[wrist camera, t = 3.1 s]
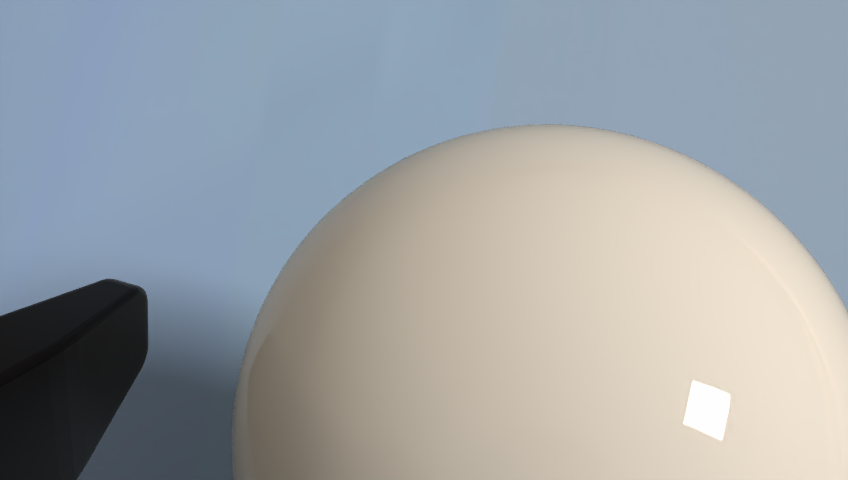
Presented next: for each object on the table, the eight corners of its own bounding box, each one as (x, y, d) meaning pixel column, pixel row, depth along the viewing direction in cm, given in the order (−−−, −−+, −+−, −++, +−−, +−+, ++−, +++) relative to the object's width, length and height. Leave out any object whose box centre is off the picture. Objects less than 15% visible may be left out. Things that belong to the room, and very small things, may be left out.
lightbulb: (301, 344, 17) (34, 152, 6) (585, 243, 17) (804, -108, 6) (401, 663, 15) (277, 1163, 4) (713, 543, 15) (1291, 739, 5)
